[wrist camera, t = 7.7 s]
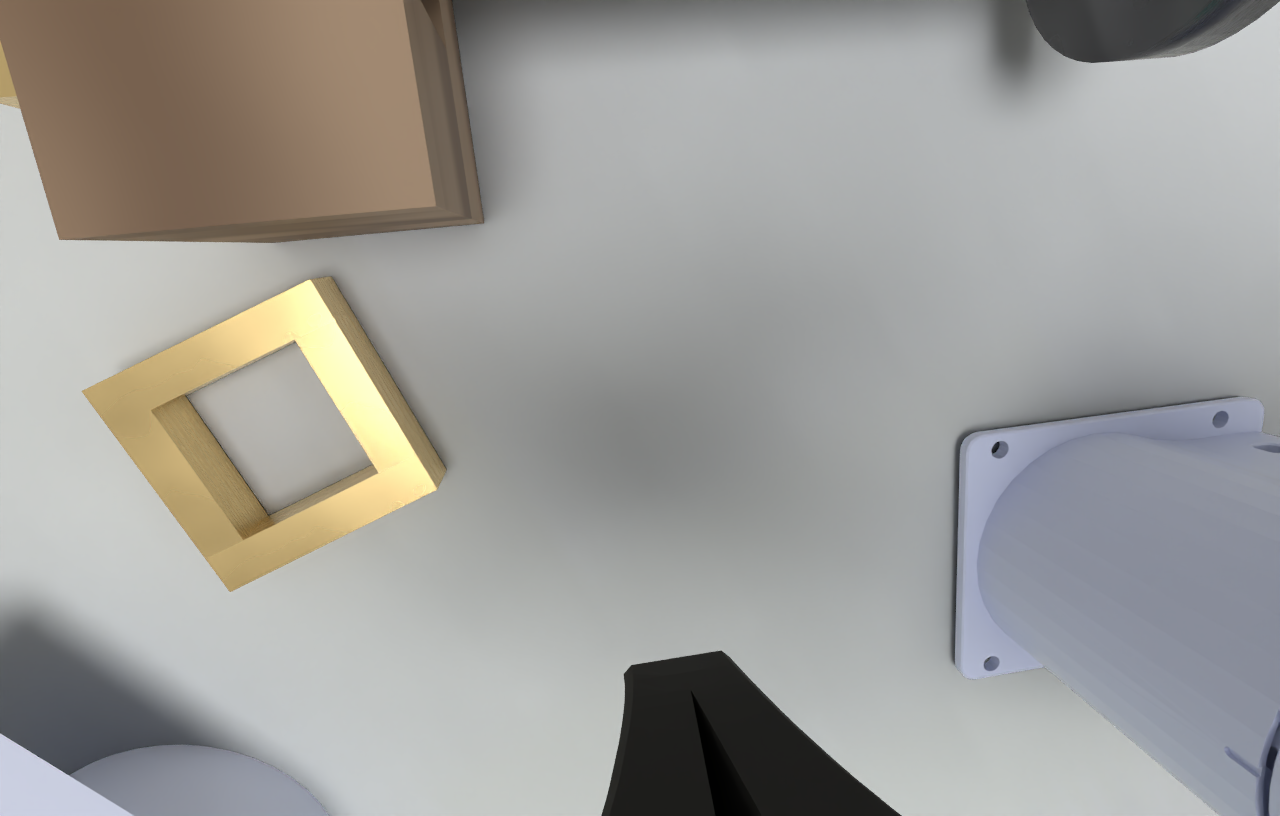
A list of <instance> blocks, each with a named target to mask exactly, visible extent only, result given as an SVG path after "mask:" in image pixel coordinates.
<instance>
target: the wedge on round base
mask: <svg viewBox="0 0 1280 816" xmlns="http://www.w3.org/2000/svg"><path fill="white" fill-rule="evenodd" d="M0 816H329V815H328V813H327V812H326V810H325V809H324V808H323V806H322V805H321V803H320V802H319V801H318V800H317V799H316V798H315V797H314V796H313V795H312V794H311V793H310V792H309V791H308V790H307V789H306V788H304V787H303V786H302V785H300V784H299V783H298V782H297V781H295V780H294V779H293V778H292V777H290V776H288V775H287V774H285V773H283V772H281V771H280V770H278V769H276V768H275V767H273V766H271V765H269V764H266V763H264V762H262V761H259V760H257V759H255V758H253V757H249V756H246V755H243V754H239V753H236V752H233V751H229V750H224V749H218V748H213V747H208V746H195V745H158V746H151V747H144V748H137V749H133V750H129V751H125V752H121V753H117V754H113V755H111V756H108V757H105V758H103V759H100V760H98V761H95V762H93V763H90V764H89V765H87V766H85V767H83V768H81V769H79V770H77V771H76V772H74V773H72V774H70V775H67V774H65V773H64V772H62V771H61V770H59V769H57V768H56V767H54V766H52V765H51V764H49V763H48V762H46V761H44V760H43V759H41V758H39V757H38V756H36V755H35V754H33V753H31V752H30V751H28V750H26V749H25V748H23V747H22V746H20V745H18V744H17V743H15V742H13V741H12V740H10V739H9V738H7V737H5V736H4V735H2V734H0Z"/></svg>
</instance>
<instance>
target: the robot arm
mask: <svg viewBox="0 0 1280 816" xmlns="http://www.w3.org/2000/svg"><path fill="white" fill-rule="evenodd" d="M1215 415H1216V416H1215ZM1214 416H1215V419H1214V420H1213V418H1214ZM1263 419H1264V406H1263V404H1262V403H1261V402H1260V401H1259V400H1257V399H1254V398H1249V397H1234V398H1227V399H1219V400H1212V401H1204V402H1197V403H1189V404H1182V405H1175V406H1167V407H1160V408H1152V409H1145V410H1137V411H1130V412H1122V413H1115V414H1107V415H1100V416H1092V417H1085V418H1077V419H1070V420H1062V421H1055V422H1047V423H1040V424H1032V425H1025V426H1017V427H1010V428H1002V429H995V430H987V431H980V432H975V433H972V434H970V435H969V436H967V437H966V438H965V439H964V441H963V442H962V444H961V448H960V470H959V511H958V553H957V594H956V636H955V665H956V668H957V669H958V671H959V672H960V673H961V674H962V675H963V676H964V677H966V678H968V679H980V678H985V677H991V676H997V675H1003V674H1008V673H1014V672H1020V671H1026V670H1031V669H1037V668H1043V667H1045V668H1047V669H1048V670H1049V671H1050V672H1051V673H1052V674H1054V675H1055V676H1056V677H1057V678H1058V679H1060V680H1061V681H1062V682H1063V683H1064V684H1065V685H1067V686H1068V687H1069V688H1070V689H1071V690H1072V691H1074V692H1075V693H1076V694H1077V695H1078V696H1080V697H1081V698H1082V699H1083V700H1084V701H1085V702H1087V703H1088V704H1089V705H1090V706H1091V707H1092V708H1094V709H1095V710H1096V711H1097V712H1098V713H1100V714H1101V715H1102V716H1103V717H1104V718H1105V719H1107V720H1108V721H1109V722H1110V723H1111V724H1112V725H1114V726H1115V727H1116V728H1117V729H1118V730H1120V731H1121V732H1122V733H1123V734H1124V735H1125V736H1127V737H1128V738H1129V739H1130V740H1131V741H1132V742H1134V743H1135V744H1136V745H1137V746H1138V747H1140V748H1141V749H1142V750H1143V751H1144V752H1145V753H1147V754H1148V755H1149V756H1150V757H1151V758H1152V759H1154V760H1155V761H1156V762H1157V763H1158V764H1160V765H1161V766H1162V767H1163V768H1164V769H1165V770H1167V771H1168V772H1169V773H1170V774H1171V775H1172V776H1174V777H1175V778H1176V779H1177V780H1178V781H1180V782H1181V783H1182V784H1183V785H1184V786H1185V787H1187V788H1188V789H1189V790H1190V791H1191V792H1192V793H1194V794H1195V795H1196V796H1197V797H1198V798H1200V799H1201V800H1202V801H1203V802H1204V803H1205V804H1207V805H1208V806H1209V807H1210V808H1211V809H1212V810H1214V811H1215V812H1216V813H1217V814H1218V815H1220V816H1280V437H1278V436H1274V435H1270V434H1266V433H1263V432H1262V427H1263ZM1212 420H1213V422H1212ZM996 442H999V443H1000V446H999V449H998V450H997V451H996V452H995V453H993V454H992V452H991V450H992V447H993V445H994V444H995V443H996ZM989 657H991V658H990V660H989V661H988V662H986V663H984V662H985V660H986V659H987V658H989ZM624 681H625V704H624V714H623V721H622V728H621V734H620V741H619V745H618V750H617V755H616V759H615V764H614V768H613V773H612V778H611V782H610V787H609V791H608V795H607V798H606V802H605V805H604V809H603V812H602V816H901V815H900V814H899V813H897V812H896V811H895V810H894V809H892V808H891V807H890V806H889V805H887V804H886V803H885V802H884V801H882V800H881V799H880V798H879V797H878V796H876V795H875V794H874V793H873V792H871V791H870V790H869V789H868V788H867V787H865V786H864V785H863V784H862V783H860V782H859V781H858V780H857V779H856V778H854V777H853V776H852V775H851V774H850V773H849V772H847V771H846V770H845V769H844V768H843V767H842V766H841V765H839V764H838V763H837V762H836V761H835V760H834V759H832V758H831V757H830V756H829V755H828V754H827V753H826V752H825V751H824V750H823V749H822V748H820V747H819V746H818V745H817V744H816V743H815V742H814V741H813V740H812V739H811V738H809V737H808V736H807V735H806V734H805V733H804V732H803V731H802V730H801V729H800V728H799V727H797V726H796V725H795V724H794V723H793V722H792V721H791V720H790V719H789V718H788V717H787V716H786V715H785V714H784V713H783V712H782V711H781V710H780V709H779V708H778V707H777V706H776V705H775V704H774V703H773V702H772V701H771V700H770V699H769V698H768V697H767V696H766V695H765V694H764V693H763V692H762V691H761V690H760V689H759V688H758V687H757V686H756V685H755V684H754V683H753V682H752V681H751V680H750V679H749V678H748V677H747V675H746V674H745V673H744V672H743V671H742V670H741V669H740V668H739V667H738V666H737V665H736V664H735V663H734V661H733V660H732V659H731V658H730V657H729V656H727V655H726V654H725V653H724V652H722V651H716V652H710V653H704V654H697V655H691V656H685V657H679V658H673V659H667V660H661V661H654V662H648V663H642V664H636V665H631V666H630V667H629V669H628V670H627V671H626V672H625V673H624Z"/></svg>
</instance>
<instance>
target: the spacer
mask: <svg viewBox="0 0 1280 816" xmlns="http://www.w3.org/2000/svg"><path fill="white" fill-rule="evenodd" d="M294 342H297V344H298V346H299V347H300V349H301V350H302V352H303V354H304V355H305V357H306V358H307V360H308V361H309V363H310V365H311V366H312V368H313V369H314V371H315V373H316V374H317V376H318V377H319V379H320V381H321V382H322V384H323V385H324V387H325V388H326V390H327V392H328V393H329V395H330V396H331V398H332V400H333V401H334V403H335V404H336V406H337V408H338V409H339V411H340V412H341V414H342V416H343V417H344V419H345V420H346V422H347V423H348V425H349V427H350V428H351V430H352V431H353V433H354V435H355V436H356V438H357V439H358V441H359V443H360V444H361V446H362V447H363V449H364V451H365V452H366V454H367V455H368V457H369V458H370V460H371V462H372V463H373V465H371V466H369V467H367V468H365V469H363V470H361V471H359V472H357V473H355V474H353V475H351V476H349V477H347V478H345V479H343V480H341V481H339V482H337V483H335V484H333V485H331V486H329V487H326V488H324V489H322V490H320V491H318V492H316V493H314V494H312V495H310V496H308V497H306V498H304V499H302V500H300V501H298V502H296V503H294V504H292V505H290V506H288V507H286V508H284V509H282V510H280V511H278V512H276V513H274V514H272V515H270V516H268V514H267V513H266V511H265V510H264V509H263V507H262V506H261V504H260V503H259V501H258V500H257V498H256V497H255V496H254V494H253V493H252V491H251V490H250V488H249V487H248V486H247V484H246V483H245V481H244V480H243V478H242V477H241V475H240V474H239V473H238V471H237V470H236V468H235V467H234V465H233V464H232V462H231V461H230V460H229V458H228V457H227V455H226V454H225V452H224V451H223V450H222V448H221V447H220V445H219V444H218V442H217V441H216V439H215V438H214V437H213V435H212V434H211V432H210V431H209V429H208V428H207V426H206V425H205V424H204V422H203V421H202V419H201V418H200V416H199V415H198V413H197V412H196V411H195V409H194V408H193V406H192V405H191V403H190V402H189V401H188V399H187V398H186V395H188V394H190V393H192V392H195V391H197V390H199V389H201V388H203V387H205V386H207V385H209V384H211V383H213V382H215V381H217V380H219V379H221V378H223V377H225V376H227V375H229V374H231V373H233V372H235V371H237V370H239V369H241V368H243V367H245V366H247V365H250V364H252V363H254V362H256V361H258V360H260V359H262V358H264V357H266V356H268V355H270V354H272V353H274V352H276V351H278V350H280V349H282V348H284V347H286V346H288V345H290V344H292V343H294ZM82 393H83V394H84V395H85V397H86V398H87V399H88V401H89V402H90V403H91V405H92V406H93V407H94V409H95V410H96V411H97V413H98V414H99V415H100V417H101V418H102V420H103V421H104V422H105V424H106V425H107V426H108V428H109V429H110V430H111V432H112V433H113V434H114V436H115V437H116V438H117V440H118V441H119V443H120V444H121V445H122V447H123V448H124V449H125V451H126V452H127V453H128V455H129V456H130V457H131V459H132V460H133V461H134V463H135V464H136V466H137V467H138V468H139V470H140V471H141V472H142V474H143V475H144V476H145V478H146V479H147V480H148V482H149V483H150V484H151V486H152V487H153V489H154V490H155V491H156V493H157V494H158V495H159V497H160V498H161V499H162V501H163V502H164V503H165V505H166V506H167V507H168V509H169V510H170V512H171V513H172V514H173V516H174V517H175V518H176V520H177V521H178V522H179V524H180V525H181V526H182V528H183V529H184V530H185V532H186V533H187V534H188V536H189V537H190V539H191V540H192V541H193V543H194V544H195V545H196V547H197V548H198V549H199V551H200V552H201V553H202V555H203V556H204V557H205V559H206V560H207V562H208V563H209V564H210V566H211V567H212V568H213V570H214V571H215V572H216V574H217V575H218V576H219V578H220V579H221V580H222V582H223V583H224V585H225V586H226V587H227V589H228V590H229V591H230V592H231V591H233V590H235V589H237V588H239V587H241V586H243V585H245V584H247V583H249V582H251V581H253V580H256V579H258V578H260V577H262V576H264V575H266V574H268V573H270V572H272V571H274V570H276V569H278V568H280V567H282V566H284V565H286V564H288V563H290V562H292V561H294V560H296V559H298V558H300V557H302V556H304V555H306V554H308V553H310V552H312V551H314V550H316V549H318V548H320V547H322V546H324V545H326V544H328V543H330V542H332V541H334V540H336V539H338V538H340V537H342V536H344V535H346V534H348V533H350V532H352V531H354V530H356V529H358V528H360V527H362V526H364V525H366V524H368V523H371V522H373V521H375V520H377V519H379V518H381V517H383V516H385V515H387V514H389V513H391V512H393V511H395V510H397V509H399V508H401V507H403V506H405V505H407V504H409V503H411V502H413V501H415V500H417V499H419V498H421V497H423V496H425V495H427V494H429V493H431V492H433V491H435V490H437V489H438V487H439V485H440V483H441V480H442V478H443V476H444V474H445V472H446V468H445V466H444V465H443V463H442V461H441V460H440V458H439V456H438V455H437V453H436V451H435V450H434V448H433V446H432V445H431V443H430V441H429V440H428V438H427V436H426V435H425V433H424V431H423V430H422V428H421V426H420V425H419V423H418V421H417V419H416V418H415V416H414V414H413V413H412V411H411V409H410V408H409V406H408V404H407V403H406V401H405V399H404V398H403V396H402V394H401V393H400V391H399V389H398V388H397V386H396V384H395V383H394V381H393V379H392V378H391V376H390V374H389V373H388V371H387V369H386V367H385V366H384V364H383V362H382V361H381V359H380V357H379V356H378V354H377V352H376V351H375V349H374V347H373V346H372V344H371V342H370V341H369V339H368V337H367V336H366V334H365V332H364V331H363V329H362V327H361V326H360V324H359V322H358V321H357V319H356V317H355V315H354V314H353V312H352V310H351V309H350V307H349V305H348V304H347V302H346V300H345V299H344V297H343V295H342V294H341V292H340V290H339V289H338V287H337V285H336V284H335V282H334V280H333V279H332V277H324V278H316V279H310V280H308V281H306V282H304V283H301V284H299V285H297V286H295V287H293V288H291V289H289V290H287V291H285V292H283V293H281V294H279V295H277V296H275V297H273V298H271V299H269V300H267V301H265V302H263V303H261V304H259V305H257V306H255V307H252V308H250V309H248V310H246V311H244V312H242V313H240V314H238V315H236V316H234V317H232V318H230V319H228V320H226V321H224V322H222V323H220V324H218V325H216V326H214V327H212V328H210V329H208V330H206V331H203V332H201V333H199V334H197V335H195V336H193V337H191V338H189V339H187V340H185V341H183V342H181V343H179V344H177V345H175V346H173V347H171V348H169V349H167V350H165V351H163V352H161V353H159V354H157V355H154V356H152V357H150V358H148V359H146V360H144V361H142V362H140V363H138V364H136V365H134V366H132V367H130V368H128V369H126V370H124V371H122V372H120V373H118V374H116V375H114V376H112V377H110V378H107V379H105V380H103V381H101V382H99V383H97V384H95V385H93V386H91V387H89V388H87V389H85V390H83V391H82Z"/></svg>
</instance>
